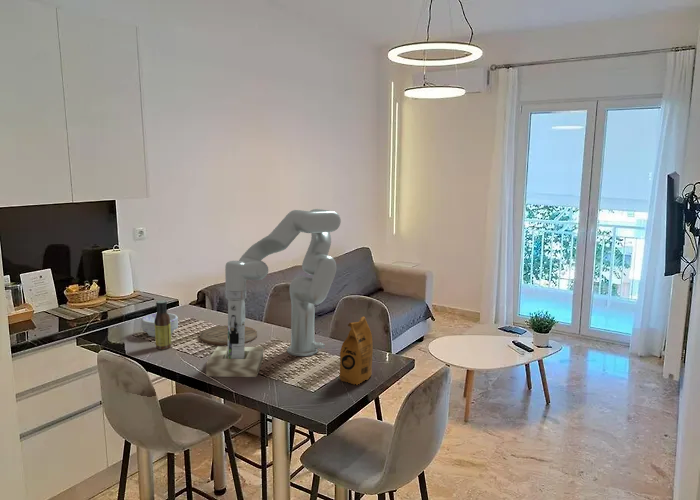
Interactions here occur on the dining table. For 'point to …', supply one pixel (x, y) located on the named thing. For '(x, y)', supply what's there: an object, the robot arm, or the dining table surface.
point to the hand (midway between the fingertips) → (236, 339)
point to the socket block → (235, 363)
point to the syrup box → (237, 349)
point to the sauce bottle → (162, 326)
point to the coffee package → (357, 353)
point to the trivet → (224, 335)
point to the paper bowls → (149, 323)
